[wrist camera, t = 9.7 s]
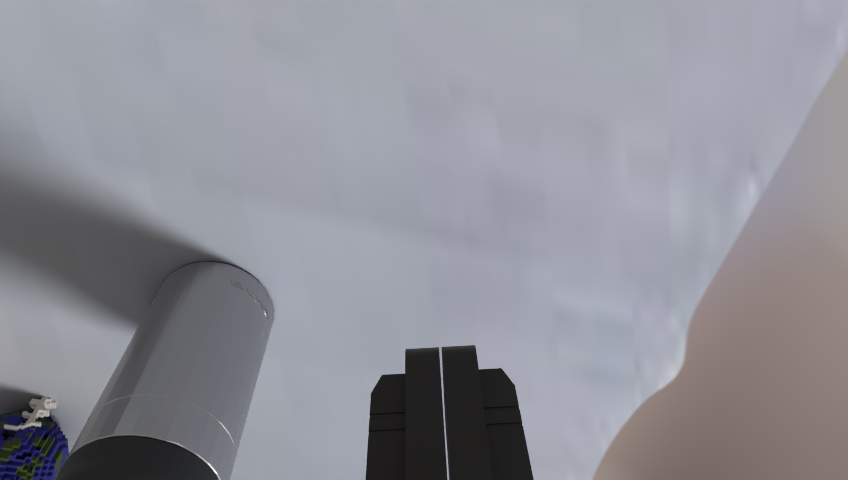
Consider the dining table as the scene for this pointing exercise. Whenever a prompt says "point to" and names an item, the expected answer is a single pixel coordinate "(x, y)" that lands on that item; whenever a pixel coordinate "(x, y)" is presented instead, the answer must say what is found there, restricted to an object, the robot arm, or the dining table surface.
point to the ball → (31, 444)
